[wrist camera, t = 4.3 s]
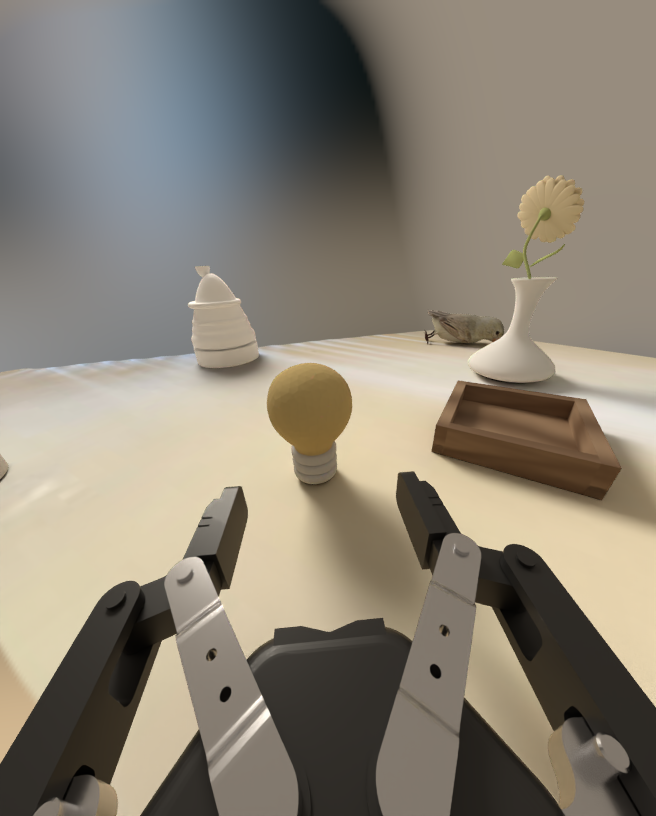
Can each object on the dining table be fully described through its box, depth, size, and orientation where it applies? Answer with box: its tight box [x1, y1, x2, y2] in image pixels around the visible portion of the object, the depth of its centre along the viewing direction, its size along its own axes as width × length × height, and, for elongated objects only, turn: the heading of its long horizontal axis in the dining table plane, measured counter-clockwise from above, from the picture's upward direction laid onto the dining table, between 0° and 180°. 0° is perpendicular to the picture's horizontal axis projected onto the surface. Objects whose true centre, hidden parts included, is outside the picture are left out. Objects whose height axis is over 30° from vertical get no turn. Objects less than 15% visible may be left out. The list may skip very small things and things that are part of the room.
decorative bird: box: [425, 310, 504, 344], centre depth 57 cm, size 5×16×8 cm, turn 70°
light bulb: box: [267, 363, 352, 484], centre depth 21 cm, size 6×6×10 cm
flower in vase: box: [467, 175, 584, 383], centre depth 36 cm, size 13×11×25 cm
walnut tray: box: [432, 381, 622, 500], centre depth 26 cm, size 12×12×3 cm
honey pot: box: [188, 266, 259, 368], centre depth 53 cm, size 13×13×18 cm
